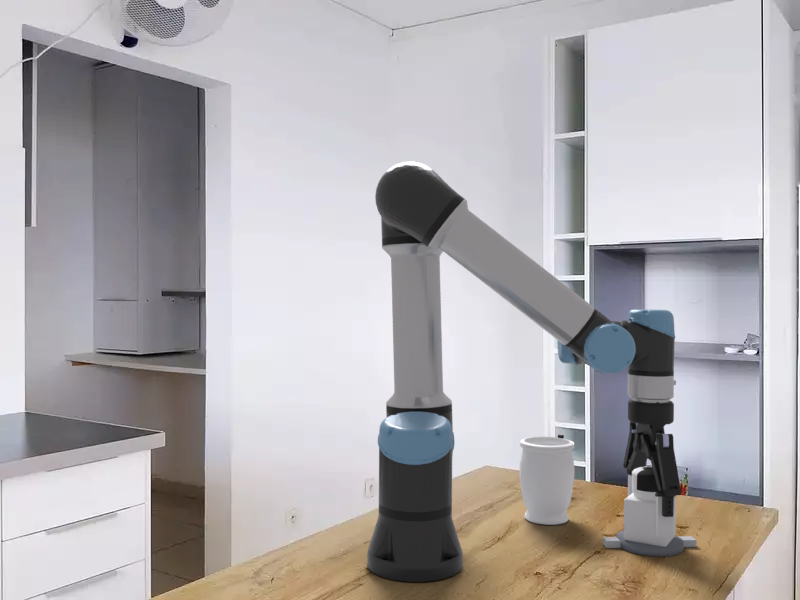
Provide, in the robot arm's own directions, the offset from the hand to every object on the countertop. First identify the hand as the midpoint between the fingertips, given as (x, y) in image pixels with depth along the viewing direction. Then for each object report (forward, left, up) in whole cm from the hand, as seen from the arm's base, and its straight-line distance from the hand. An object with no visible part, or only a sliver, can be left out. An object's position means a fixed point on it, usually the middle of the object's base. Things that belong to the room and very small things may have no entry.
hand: (649, 523), depth 133 cm
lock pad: (0, +1, -4) cm, 4 cm away
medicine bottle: (0, 0, -3) cm, 3 cm away
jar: (-14, +16, -4) cm, 22 cm away
